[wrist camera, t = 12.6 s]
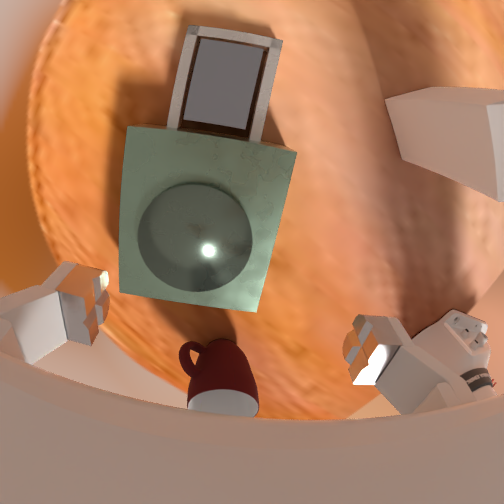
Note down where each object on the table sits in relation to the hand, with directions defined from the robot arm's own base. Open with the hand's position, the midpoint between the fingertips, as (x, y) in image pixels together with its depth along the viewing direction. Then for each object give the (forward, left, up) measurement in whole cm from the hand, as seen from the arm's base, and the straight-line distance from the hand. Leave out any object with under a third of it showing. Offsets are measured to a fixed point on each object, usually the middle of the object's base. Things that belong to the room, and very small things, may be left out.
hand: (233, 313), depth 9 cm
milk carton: (-19, -11, -22) cm, 31 cm away
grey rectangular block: (+2, -8, -22) cm, 23 cm away
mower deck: (+2, -1, -22) cm, 22 cm away
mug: (-2, +22, -22) cm, 31 cm away
